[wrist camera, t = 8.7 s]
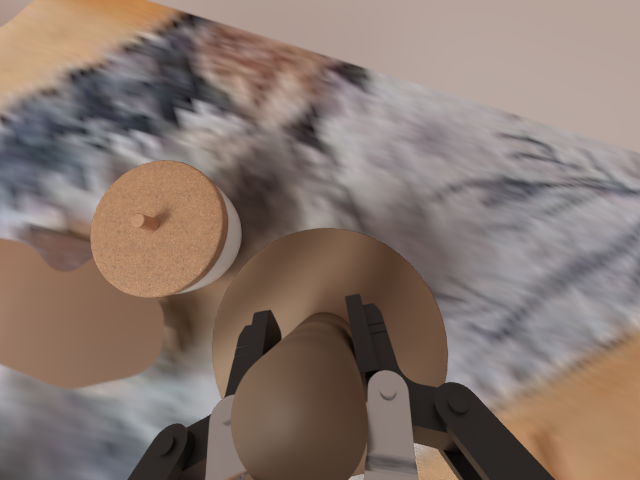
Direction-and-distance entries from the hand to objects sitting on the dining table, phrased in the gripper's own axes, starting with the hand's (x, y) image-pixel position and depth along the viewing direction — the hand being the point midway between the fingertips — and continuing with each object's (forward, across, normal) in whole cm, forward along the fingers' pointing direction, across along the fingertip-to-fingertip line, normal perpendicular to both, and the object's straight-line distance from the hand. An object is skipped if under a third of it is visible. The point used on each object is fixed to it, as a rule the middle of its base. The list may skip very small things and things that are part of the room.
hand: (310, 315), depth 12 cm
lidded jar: (+15, +12, +4) cm, 19 cm away
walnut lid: (+2, 0, +5) cm, 5 cm away
